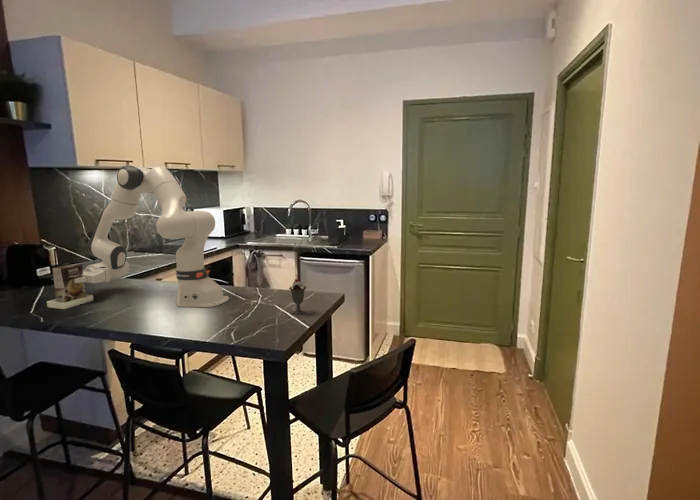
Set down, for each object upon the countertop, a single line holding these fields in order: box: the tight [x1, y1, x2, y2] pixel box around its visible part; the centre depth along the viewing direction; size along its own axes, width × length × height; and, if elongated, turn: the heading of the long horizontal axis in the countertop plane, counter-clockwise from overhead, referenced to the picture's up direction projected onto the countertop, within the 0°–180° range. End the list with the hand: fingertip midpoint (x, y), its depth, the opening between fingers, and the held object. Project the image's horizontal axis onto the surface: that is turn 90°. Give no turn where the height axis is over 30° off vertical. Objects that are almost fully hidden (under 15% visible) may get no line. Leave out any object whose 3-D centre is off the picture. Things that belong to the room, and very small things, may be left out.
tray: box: [46, 294, 94, 310], centre depth 179 cm, size 10×13×2 cm
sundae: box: [288, 274, 307, 316], centre depth 161 cm, size 7×7×15 cm
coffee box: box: [52, 263, 87, 303], centre depth 178 cm, size 9×6×16 cm
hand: (65, 280), depth 176 cm, fingers open, 8 cm apart
